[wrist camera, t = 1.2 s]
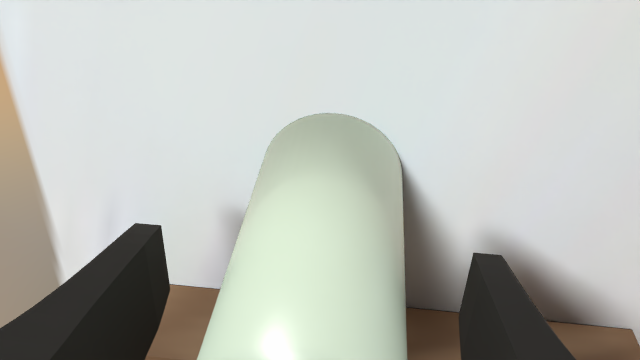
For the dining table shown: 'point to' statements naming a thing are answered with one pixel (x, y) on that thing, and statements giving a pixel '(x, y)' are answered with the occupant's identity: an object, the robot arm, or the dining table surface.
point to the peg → (317, 251)
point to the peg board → (421, 326)
